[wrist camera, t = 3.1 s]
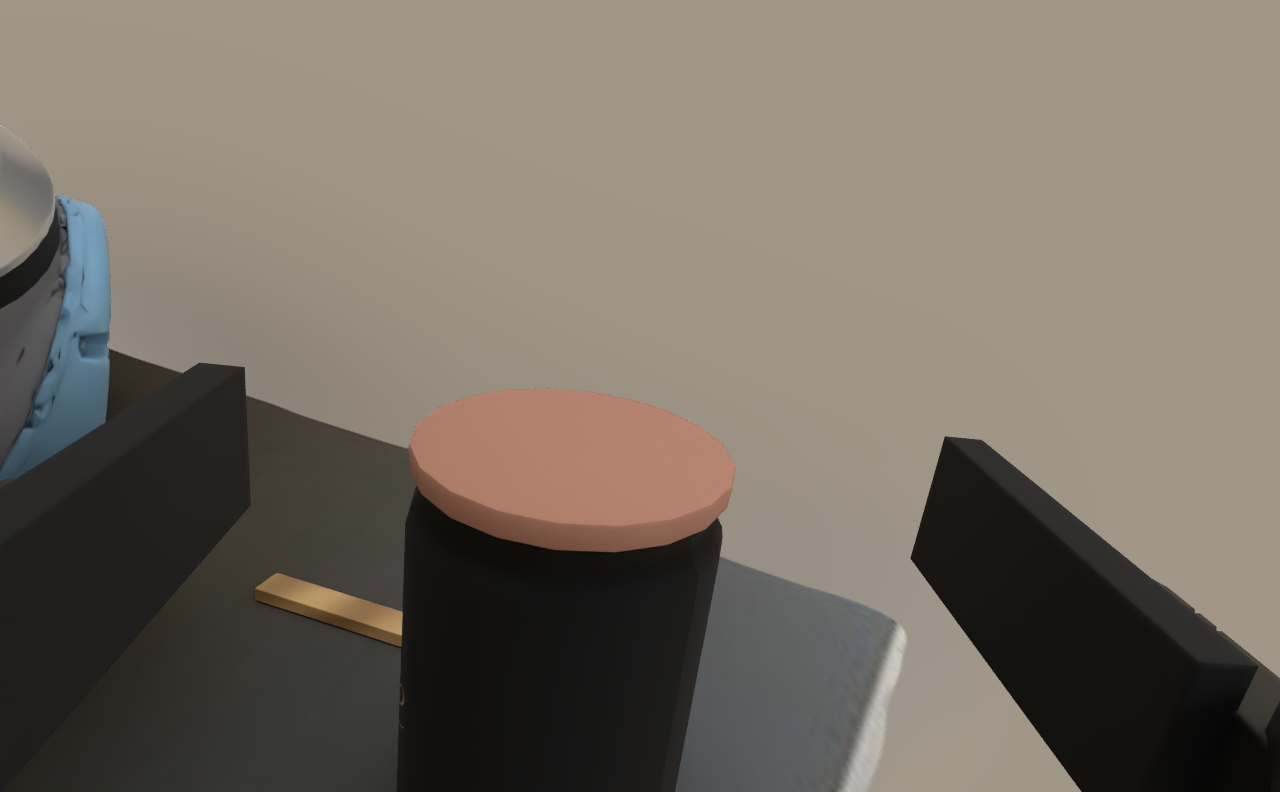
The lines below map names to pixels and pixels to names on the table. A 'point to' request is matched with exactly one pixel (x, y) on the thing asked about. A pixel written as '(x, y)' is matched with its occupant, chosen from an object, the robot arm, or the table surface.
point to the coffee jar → (555, 592)
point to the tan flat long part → (332, 607)
